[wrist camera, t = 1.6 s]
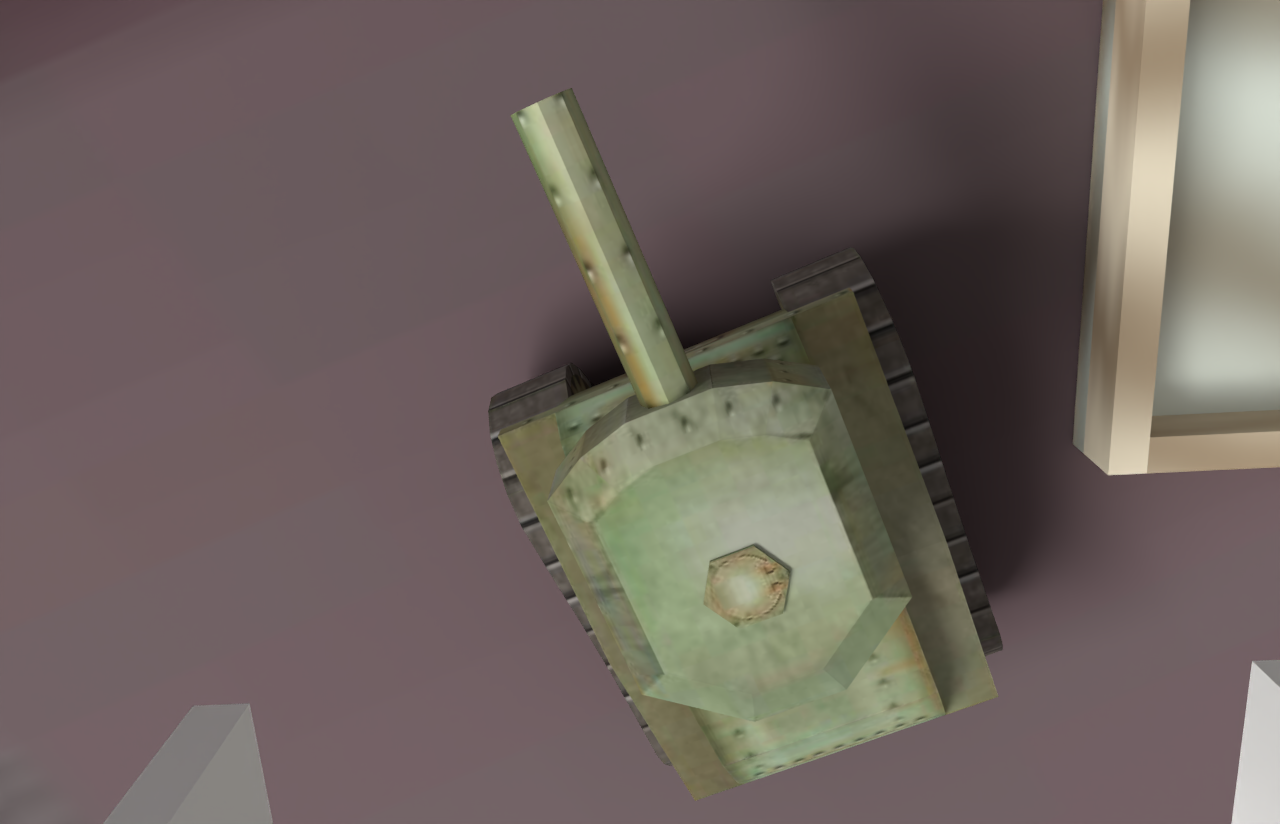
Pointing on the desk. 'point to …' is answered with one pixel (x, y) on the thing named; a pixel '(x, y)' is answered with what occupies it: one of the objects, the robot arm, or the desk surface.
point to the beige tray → (1183, 241)
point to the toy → (742, 505)
